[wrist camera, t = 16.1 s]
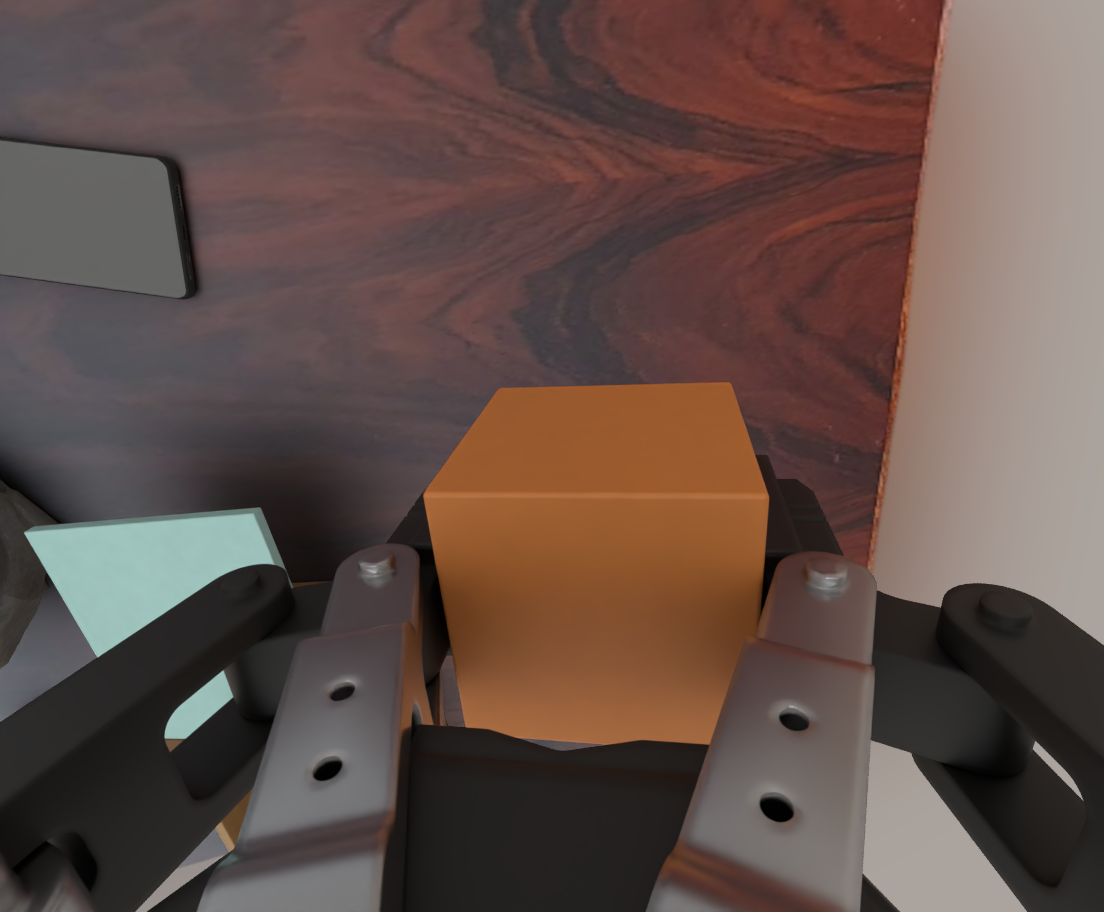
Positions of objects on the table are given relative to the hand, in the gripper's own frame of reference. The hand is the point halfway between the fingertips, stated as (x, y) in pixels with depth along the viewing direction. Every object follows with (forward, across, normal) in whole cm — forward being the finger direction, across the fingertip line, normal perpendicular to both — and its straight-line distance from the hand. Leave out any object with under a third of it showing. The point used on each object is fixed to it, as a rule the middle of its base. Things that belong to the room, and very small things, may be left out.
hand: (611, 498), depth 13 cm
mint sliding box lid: (+10, +22, +14) cm, 28 cm away
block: (0, 0, 0) cm, 0 cm away
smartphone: (+19, +30, -6) cm, 36 cm away
